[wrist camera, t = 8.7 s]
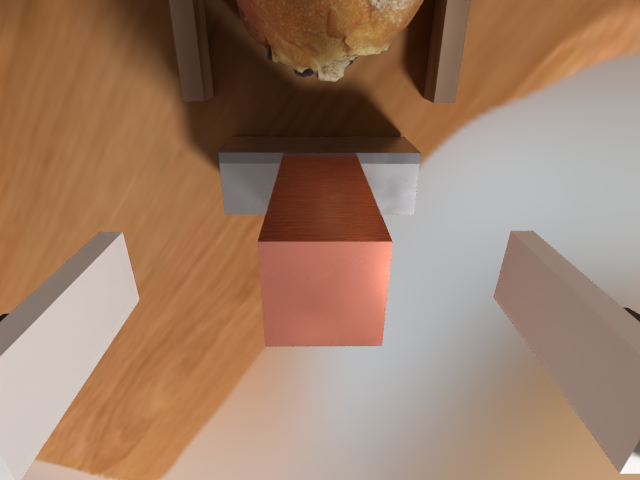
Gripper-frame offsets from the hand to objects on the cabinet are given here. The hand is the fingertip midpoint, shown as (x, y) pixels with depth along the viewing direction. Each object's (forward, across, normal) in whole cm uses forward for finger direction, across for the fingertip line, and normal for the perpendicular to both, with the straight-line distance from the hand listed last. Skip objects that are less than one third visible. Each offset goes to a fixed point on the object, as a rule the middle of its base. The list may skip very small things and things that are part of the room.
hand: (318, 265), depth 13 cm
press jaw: (+14, 0, -1) cm, 14 cm away
